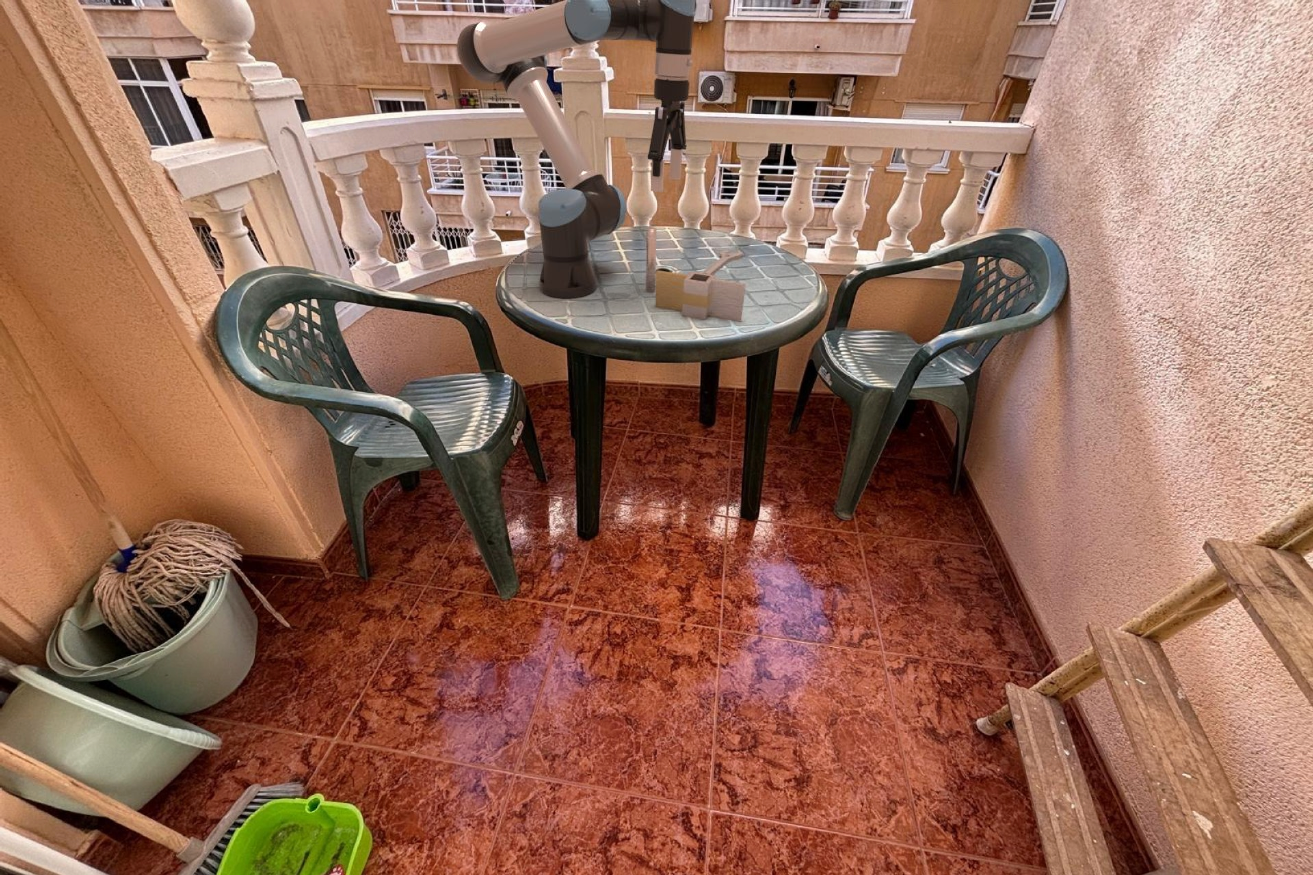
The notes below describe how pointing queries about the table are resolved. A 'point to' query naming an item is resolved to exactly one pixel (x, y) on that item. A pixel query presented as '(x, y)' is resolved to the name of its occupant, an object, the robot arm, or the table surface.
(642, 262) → the table surface
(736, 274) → the table surface
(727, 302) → the hinge
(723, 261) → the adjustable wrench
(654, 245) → the hinge pin
